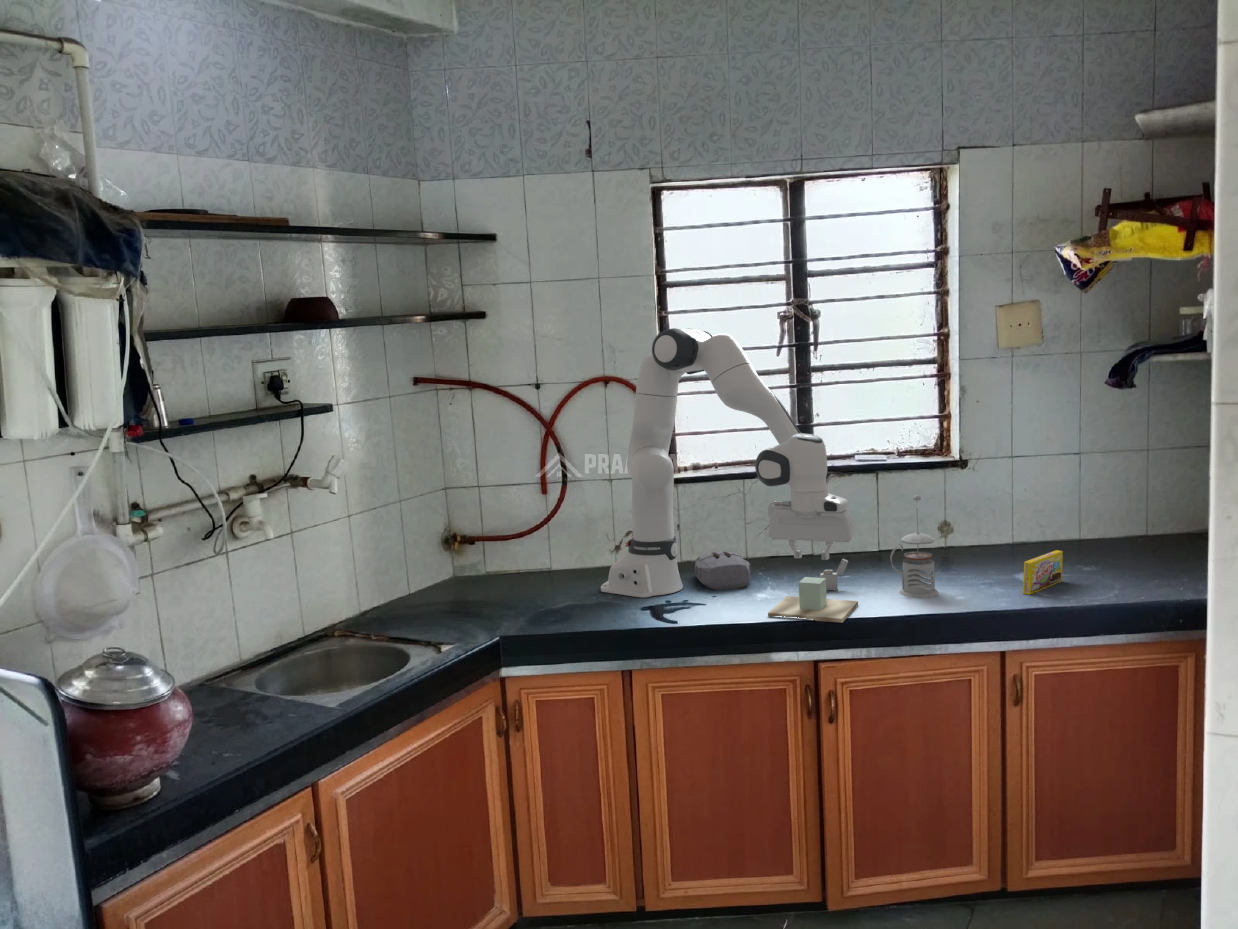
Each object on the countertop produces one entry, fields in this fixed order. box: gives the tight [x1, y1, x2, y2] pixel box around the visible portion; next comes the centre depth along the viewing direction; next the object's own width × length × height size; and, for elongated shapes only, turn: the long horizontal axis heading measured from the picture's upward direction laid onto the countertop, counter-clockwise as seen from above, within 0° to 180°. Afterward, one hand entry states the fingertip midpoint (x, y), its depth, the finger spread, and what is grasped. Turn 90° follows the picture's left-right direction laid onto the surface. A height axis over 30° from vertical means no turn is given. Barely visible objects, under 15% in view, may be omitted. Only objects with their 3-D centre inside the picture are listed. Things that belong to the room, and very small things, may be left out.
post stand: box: [767, 595, 859, 624], centre depth 239 cm, size 18×15×6 cm
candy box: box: [1022, 549, 1064, 596], centre depth 247 cm, size 16×2×8 cm, turn 129°
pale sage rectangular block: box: [798, 576, 828, 611], centre depth 239 cm, size 5×5×7 cm
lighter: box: [819, 558, 849, 592], centre depth 257 cm, size 7×2×8 cm, turn 87°
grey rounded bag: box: [694, 550, 752, 591], centre depth 272 cm, size 15×8×20 cm
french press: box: [889, 494, 940, 599], centre depth 248 cm, size 10×12×25 cm
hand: (811, 558), depth 238 cm, fingers open, 5 cm apart
